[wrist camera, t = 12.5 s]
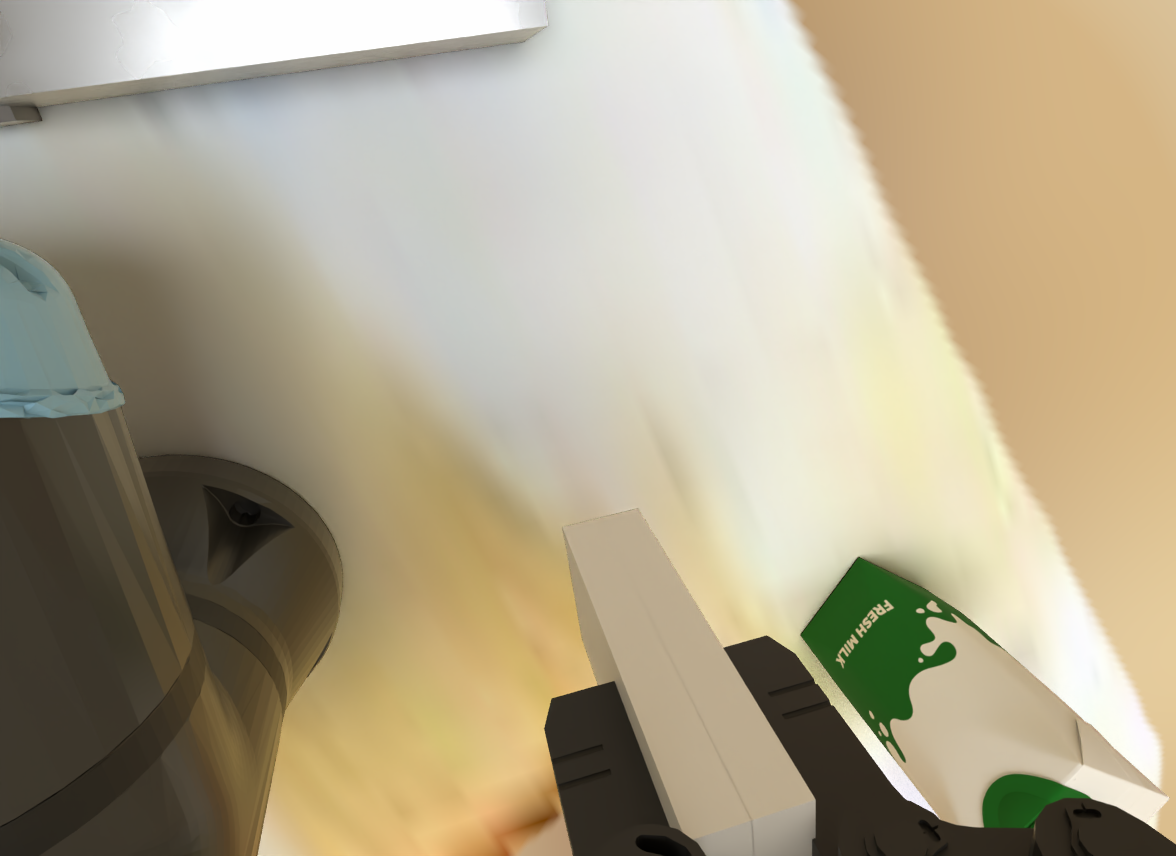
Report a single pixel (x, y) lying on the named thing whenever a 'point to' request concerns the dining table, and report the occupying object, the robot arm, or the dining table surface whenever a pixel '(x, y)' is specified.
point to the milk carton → (963, 709)
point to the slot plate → (228, 40)
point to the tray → (18, 115)
